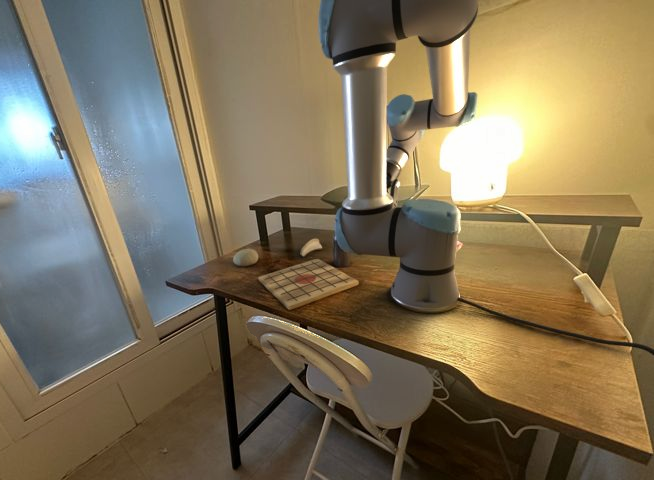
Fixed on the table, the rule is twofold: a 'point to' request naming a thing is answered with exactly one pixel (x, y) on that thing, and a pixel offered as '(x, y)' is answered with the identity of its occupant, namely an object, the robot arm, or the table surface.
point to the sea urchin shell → (245, 257)
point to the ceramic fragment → (310, 247)
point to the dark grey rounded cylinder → (340, 255)
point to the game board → (306, 283)
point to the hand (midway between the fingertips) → (356, 224)
